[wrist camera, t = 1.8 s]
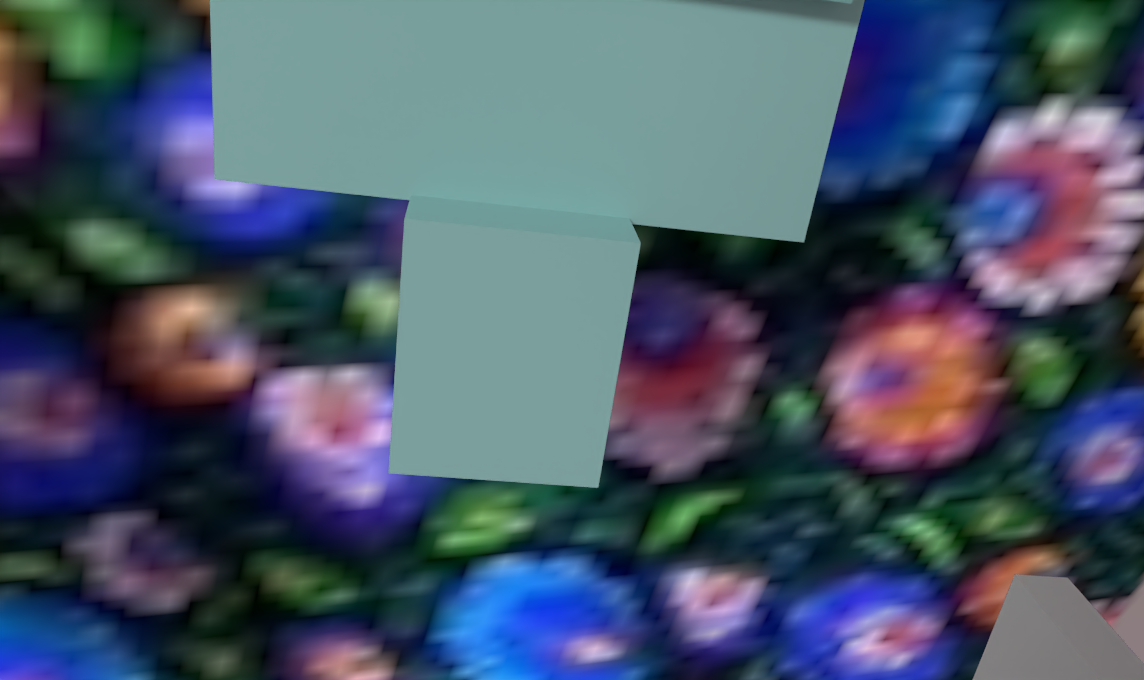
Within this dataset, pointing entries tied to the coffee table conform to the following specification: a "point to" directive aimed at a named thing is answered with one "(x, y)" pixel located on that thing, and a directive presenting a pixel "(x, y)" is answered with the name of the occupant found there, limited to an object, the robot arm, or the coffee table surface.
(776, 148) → the lid
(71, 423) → the coffee table surface
